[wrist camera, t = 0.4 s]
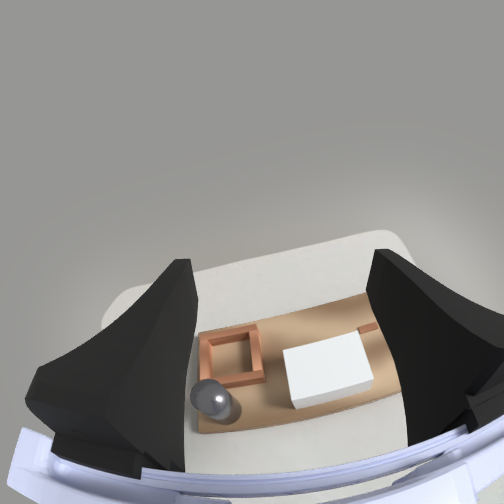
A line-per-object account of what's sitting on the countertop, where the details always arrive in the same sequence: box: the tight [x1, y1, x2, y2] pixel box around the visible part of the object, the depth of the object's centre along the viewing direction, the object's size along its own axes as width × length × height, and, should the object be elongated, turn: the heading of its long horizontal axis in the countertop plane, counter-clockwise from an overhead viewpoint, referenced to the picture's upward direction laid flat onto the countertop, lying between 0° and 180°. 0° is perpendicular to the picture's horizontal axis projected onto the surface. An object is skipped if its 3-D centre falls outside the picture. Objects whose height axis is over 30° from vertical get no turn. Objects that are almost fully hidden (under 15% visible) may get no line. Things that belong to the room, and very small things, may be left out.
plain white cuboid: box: [283, 331, 374, 409], centre depth 24 cm, size 5×7×3 cm
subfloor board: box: [198, 292, 401, 434], centre depth 27 cm, size 12×20×2 cm, turn 96°
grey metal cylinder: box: [190, 379, 242, 425], centre depth 23 cm, size 3×3×5 cm
